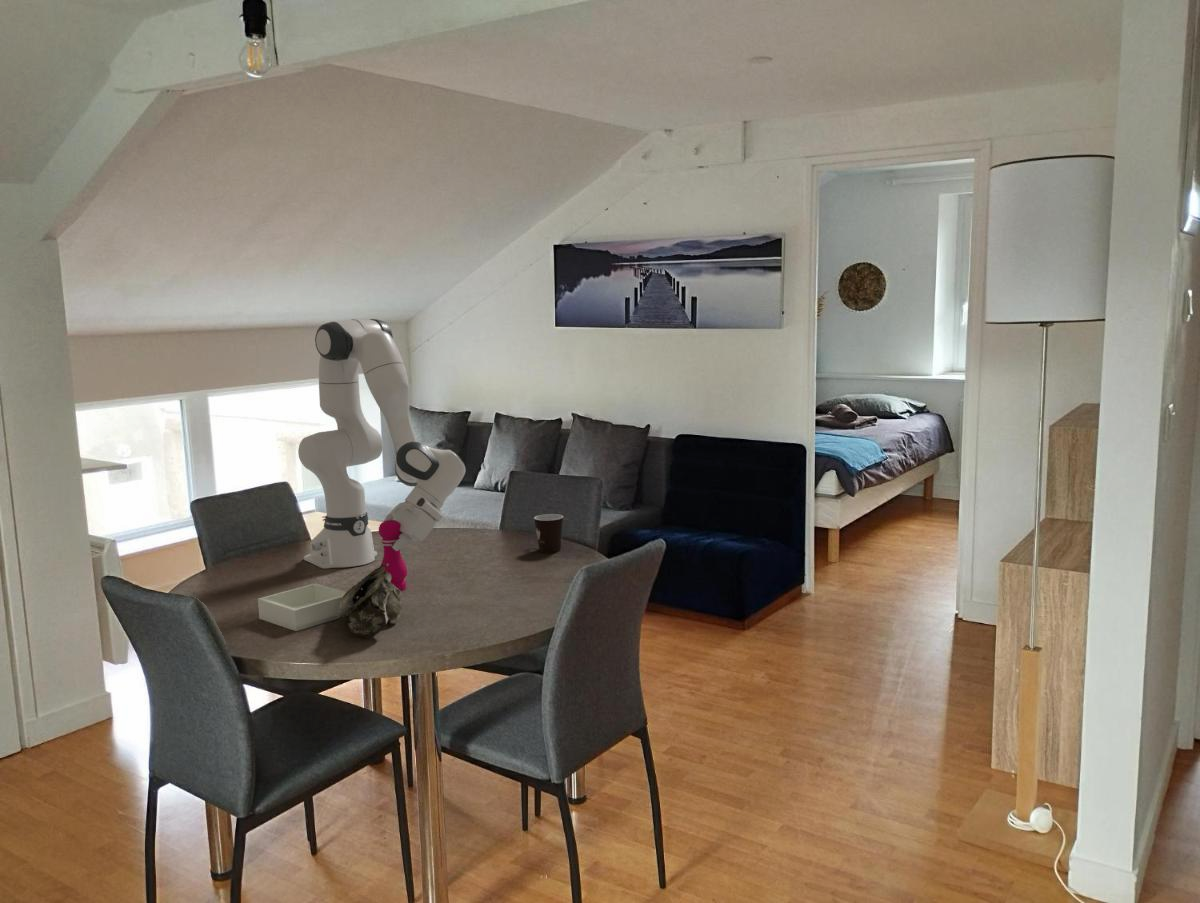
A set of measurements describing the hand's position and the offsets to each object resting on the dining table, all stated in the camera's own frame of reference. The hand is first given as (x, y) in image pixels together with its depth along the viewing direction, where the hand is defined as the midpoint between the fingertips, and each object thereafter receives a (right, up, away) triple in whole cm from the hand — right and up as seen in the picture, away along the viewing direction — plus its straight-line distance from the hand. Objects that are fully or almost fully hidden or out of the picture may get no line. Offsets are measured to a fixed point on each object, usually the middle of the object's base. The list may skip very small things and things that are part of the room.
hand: (389, 546), depth 261 cm
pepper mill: (+1, -11, +2) cm, 12 cm away
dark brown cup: (+40, -5, +39) cm, 56 cm away
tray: (-16, -15, -19) cm, 29 cm away
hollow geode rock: (+1, -16, -28) cm, 32 cm away
